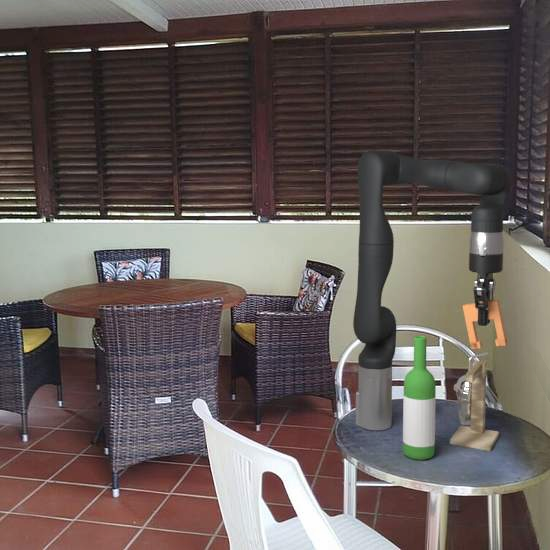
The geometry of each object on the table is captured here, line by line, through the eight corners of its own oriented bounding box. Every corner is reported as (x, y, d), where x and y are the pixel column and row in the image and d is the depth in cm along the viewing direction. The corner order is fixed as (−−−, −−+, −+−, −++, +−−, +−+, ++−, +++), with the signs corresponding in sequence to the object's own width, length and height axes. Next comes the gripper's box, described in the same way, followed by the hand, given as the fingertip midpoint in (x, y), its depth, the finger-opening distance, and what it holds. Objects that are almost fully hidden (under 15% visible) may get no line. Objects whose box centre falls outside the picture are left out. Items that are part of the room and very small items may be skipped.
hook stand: (447, 448, 169) (448, 371, 166) (460, 429, 181) (462, 358, 178) (487, 455, 164) (490, 377, 161) (498, 435, 176) (500, 362, 174)
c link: (471, 349, 158) (462, 305, 157) (473, 347, 159) (464, 304, 159) (505, 345, 154) (496, 301, 153) (507, 343, 155) (498, 299, 155)
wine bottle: (396, 451, 167) (397, 335, 163) (421, 446, 170) (423, 332, 166) (415, 463, 160) (416, 342, 156) (441, 457, 163) (443, 338, 159)
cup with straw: (452, 416, 191) (454, 348, 188) (485, 419, 189) (487, 350, 186) (452, 427, 183) (454, 356, 180) (486, 429, 181) (489, 358, 178)
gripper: (476, 247, 162) (474, 317, 164) (462, 253, 150) (460, 328, 152) (508, 248, 158) (505, 320, 161) (497, 255, 146) (494, 332, 149)
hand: (483, 324), depth 156 cm, fingers closed on c link, 2 cm apart
